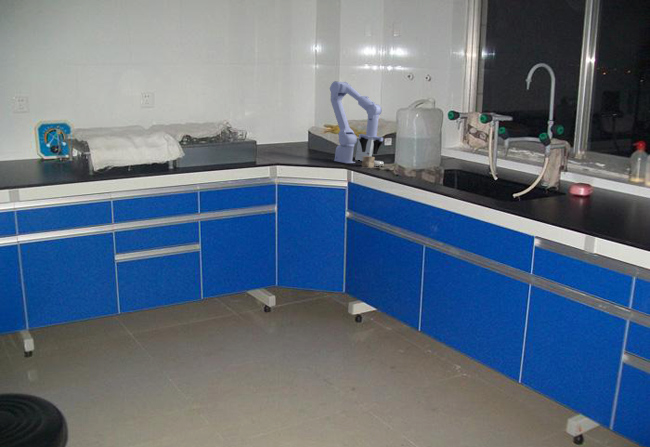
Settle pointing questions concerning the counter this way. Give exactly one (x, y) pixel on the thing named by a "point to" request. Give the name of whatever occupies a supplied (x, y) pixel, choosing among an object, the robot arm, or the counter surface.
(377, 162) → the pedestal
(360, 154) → the skincare box
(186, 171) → the counter surface
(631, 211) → the counter surface
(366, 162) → the beech block
